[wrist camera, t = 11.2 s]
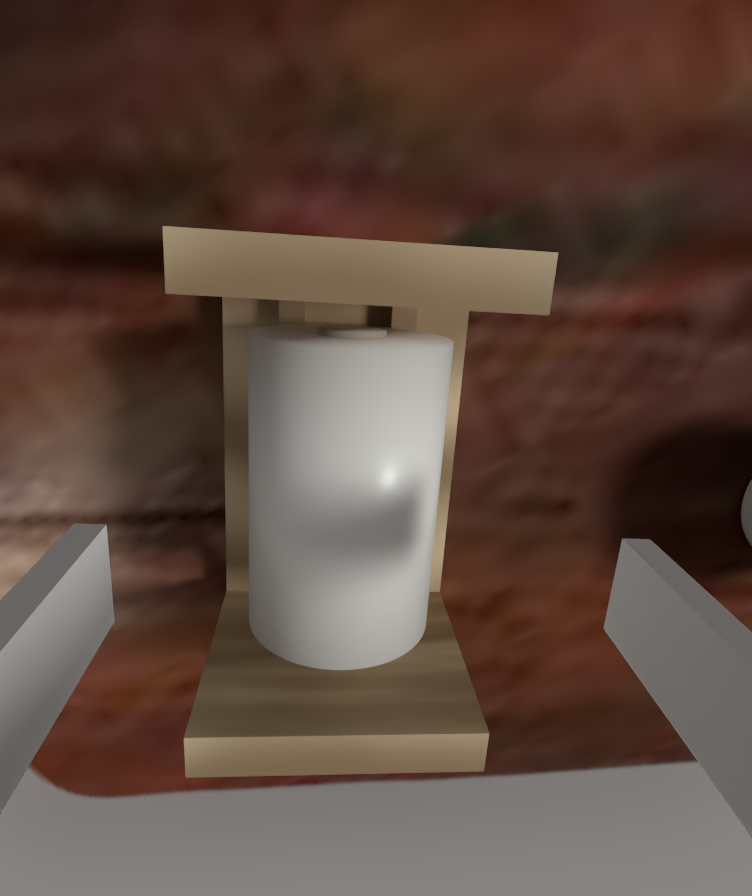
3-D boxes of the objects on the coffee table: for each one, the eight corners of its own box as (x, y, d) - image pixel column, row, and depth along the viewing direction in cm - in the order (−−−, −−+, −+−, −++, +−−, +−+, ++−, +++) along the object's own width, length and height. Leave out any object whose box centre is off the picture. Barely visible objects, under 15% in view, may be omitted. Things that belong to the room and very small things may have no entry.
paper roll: (277, 313, 24) (218, 332, 18) (451, 326, 24) (458, 350, 17) (274, 566, 28) (223, 662, 21) (426, 582, 27) (424, 685, 20)
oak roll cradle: (226, 238, 24) (162, 226, 15) (468, 254, 25) (558, 252, 16) (230, 606, 29) (185, 777, 20) (432, 607, 30) (483, 771, 21)
